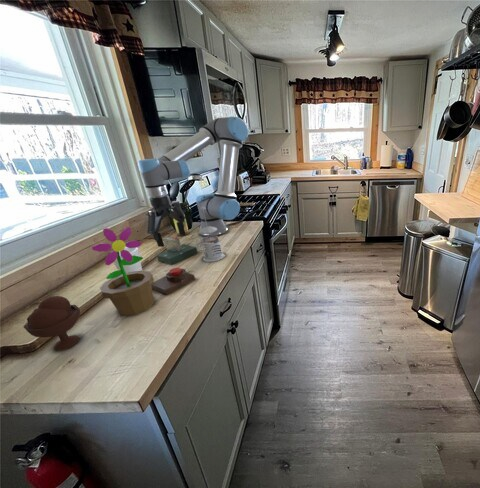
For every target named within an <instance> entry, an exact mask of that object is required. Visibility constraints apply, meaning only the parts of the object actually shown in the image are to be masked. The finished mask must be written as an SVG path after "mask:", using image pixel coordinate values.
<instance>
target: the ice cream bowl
mask: <svg viewBox="0 0 480 488" xmlns="http://www.w3.org/2000/svg"><path fill="white" fill-rule="evenodd" d="M80 317H81V309H80V307H78V305H76V304H71V302H70V300H69V299H67V298H66V297H64V296H61V295H53V296H48V297H46V298H44V299H42V301H40V303H39V304H38V307H36V308H34V310H33V311H32V312H31V313H30V314H29V315H28V316H27V318H26V323H25V324H24V325H23V328H24V329H25V331H26V332H27V333H29V334H30V335H31V336H33V337H35V338H52V337H58V338H59V341H57V342H56V343H55V345H54V346H53V349H54V350H55V351H57V352H58V351H64V350H67V349H70V348H72V347H73V346H75V345H76V344H78V343H79V341H80V340H81V338H80V337H79V335H68V332H69V331H70V330H71V329H72V328H73V327H74V326H75V325H76V323H77V322H78V320H79V319H80Z"/></svg>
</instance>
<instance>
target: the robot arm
mask: <svg viewBox="0 0 480 488" xmlns="http://www.w3.org/2000/svg"><path fill="white" fill-rule="evenodd" d="M248 136H249V128H248V125H247V124H246V122H245V121H244V120H243V119H242V118H241V117H239V116H227V117H226V116H225V117H216V118H215V119H212V120H211V121H209V122H207V123H206V124H205V125H203V126H201V127H200V128H199V129H198V132H196V133H195V134H193V135H192V136H191V137H190V138H188V139H186V140H184V141H183V142H181V143H180V144H178V145H177V146H175V147H174V148H172V149H171V150H170V151H168V152H166V153H165V154H164V155H162V156H160V157H159V158H144V159H139V160H138V162H137V165H138V169H139V173H140V175H141V178H142V180H143V184H144V186H145V187H144V188H145V190H146V193H147V196H148V197H149V203H150V205H151V206H152V208H153V210H147V215H148V218H147V219H148V220H147V231H146V233H147V234H148V235H149V234H150V235H152V236H153V239H154V241H155V242H156V245H157V247H159V248H160V247H161V248H164V247H165V242H164V239H163V237H162V235H161V232H159V231H160V228H161V225H162V221H163V220H164V218H166V217H168V216H170V217H171V218H172V219H173V218H174V219H175V220H176V221H178V222H177V227H178V230H179V233H180V235H183V236H186V234H185V230H184V225H183V222H184V221H185V220H184V219H185V218H186V215H185V216H184V215H183V214H182V213H181V211H180V210H179V209H178V207H177V205H176V203H172V201H171V199H170V195H169V192H168V189H167V185H166V182H165V181H170V180H176V179H183V178H186V177H189V176H190V175H191V169H190V166H189V163H188V161H189V160H190V159H191V158H193V157H194V156H195V155H197V154H199V153H200V152H201V151H203V150H204V149H205V148H207V147H208V146H213V145H215V144H217V143H220V144H221V152H220V163H219V173H218V181H217V182H218V183H217V190H216V191H215V192H211V193H205V194H201V195H197V196H196V198H195V203H196V206H197V210H198V214H199V218H200V226H199V230H201V229H202V228H204V227H209V226H211V227H215V228H217V231H215V232H213V233H210V234H200V236H201V237H208V236H217V237H218V236H222V235H224V234H226V233H227V232H228V230H229V229H228V226H232V225H235V224H239V223H241V222H242V221H244V219H246V218H247V216H248V215H250V214H253V213H256V212H257V211H263V209H262V208H257V209H256V210H253V211H251V212H248V213H247V214H245V215H244V217H243V218H242V219H240V220H239V221H236V222H235V221H234V222H231V223H228V224H226V223H225V221H232V220H234V219H236V217H237V216H239V214H240V211H241V205H240V204H239V201H238V200H237V198H238V197H237V195H236V194H235V190H236V181H237V170H238V160H239V151H240V149H241V148H242V147H243V144H244V141H246V140H247V139H248V138H249V137H248ZM201 207H205V209H203V210H204V212H203V210H201ZM173 211H174V212H175V213H174V212H173ZM204 214H205V217H204ZM205 219H206V221H205ZM206 223H207V225H206Z"/></svg>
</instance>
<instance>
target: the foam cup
mask: <svg viewBox="0 0 480 488" xmlns="http://www.w3.org/2000/svg"><path fill="white" fill-rule="evenodd" d="M124 250H127V251H129V252H130V254H131V255H132V256H134V255H135V256H139V257H141V255H140V253H141V252H140V250H139V247H137V248H128V247H125V248H124ZM112 251H113V250H111V251H110V252H112ZM119 254H120V251H119ZM120 258H121V260H122V259H123V258H122V257H121V255H120ZM141 260H142V259H141ZM141 260H140V261H139V262H137V263H135V264H132V265H123V267H124V270H125V273H128V272H133V271H143V267H142V261H141ZM112 264H113V265H114V266H115V268H116V269H117V270H121V269H120V267H119V264H118V261H117V258H116V260H115V261H114V262H113V263H112Z"/></svg>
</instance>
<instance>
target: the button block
mask: <svg viewBox="0 0 480 488" xmlns="http://www.w3.org/2000/svg"><path fill="white" fill-rule="evenodd" d="M181 271H182V273H181V274H179V275H176V276H171V275H170V272H169V271H168V272H167V273H166V274H165V276H163V277H161V278H159V279H156V280H154V281H153V282H152V284H151V287H152V290H154V291H157V292H159V293H161V294H164V295H167V296H168V295H169V294H171V293H173V292H175V291H177V290H179V289H180V288H182V287H184V286H186V285H187V284H190V283H192V282H194V281H195V280H196V277H195V274H192V273H189V272H187V270H186V269H185V268H181Z"/></svg>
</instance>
